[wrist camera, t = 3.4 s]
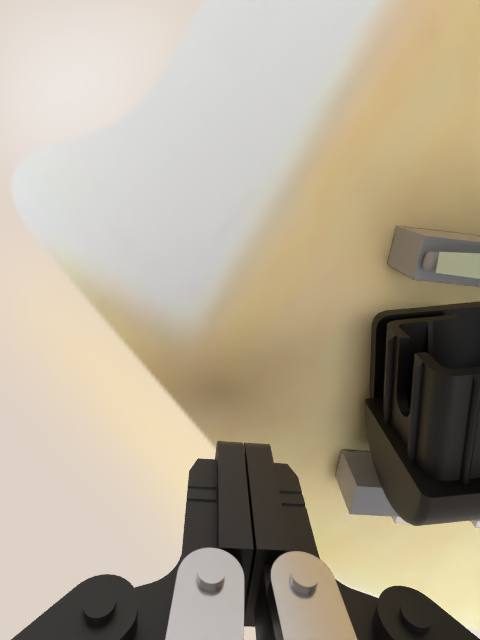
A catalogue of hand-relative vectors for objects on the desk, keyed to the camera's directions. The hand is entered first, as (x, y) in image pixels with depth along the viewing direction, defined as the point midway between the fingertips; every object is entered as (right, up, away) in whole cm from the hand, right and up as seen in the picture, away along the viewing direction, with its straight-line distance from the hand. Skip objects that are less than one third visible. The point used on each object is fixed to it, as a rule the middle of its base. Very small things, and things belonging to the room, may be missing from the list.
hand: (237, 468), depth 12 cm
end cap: (+11, +2, +8) cm, 13 cm away
